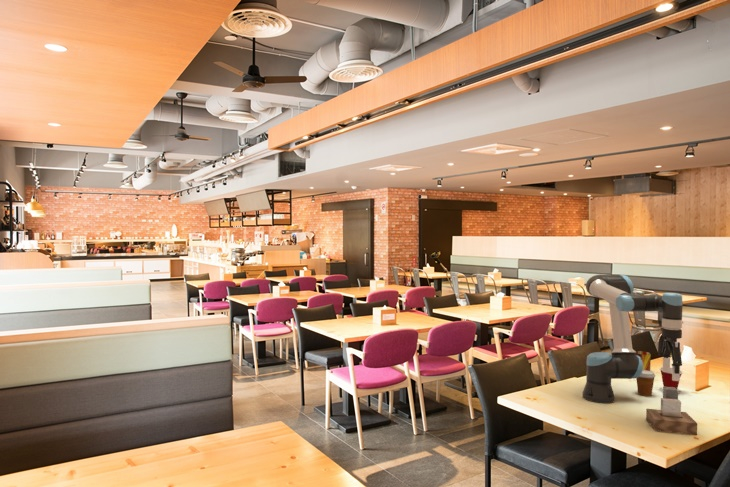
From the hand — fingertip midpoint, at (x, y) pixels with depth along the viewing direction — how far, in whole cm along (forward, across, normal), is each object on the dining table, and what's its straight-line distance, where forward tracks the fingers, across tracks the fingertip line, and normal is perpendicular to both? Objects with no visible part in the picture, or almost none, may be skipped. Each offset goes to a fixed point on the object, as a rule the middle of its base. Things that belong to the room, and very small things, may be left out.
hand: (670, 376), depth 220 cm
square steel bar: (+22, +19, -5) cm, 30 cm away
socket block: (+22, 0, 0) cm, 22 cm away
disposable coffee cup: (+23, +48, -1) cm, 53 cm away
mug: (+23, +95, -10) cm, 98 cm away
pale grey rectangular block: (+22, 0, 0) cm, 22 cm away
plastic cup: (+23, +58, -16) cm, 64 cm away
